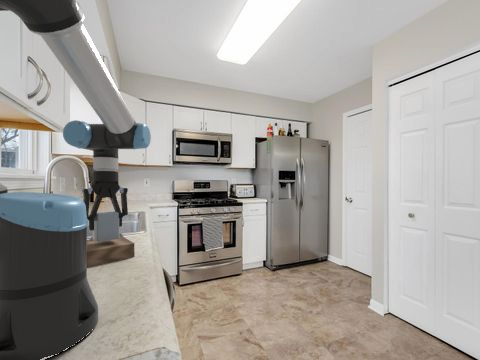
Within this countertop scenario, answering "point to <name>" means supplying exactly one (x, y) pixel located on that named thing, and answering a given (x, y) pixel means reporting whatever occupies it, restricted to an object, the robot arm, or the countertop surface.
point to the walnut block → (109, 251)
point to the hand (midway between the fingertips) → (106, 237)
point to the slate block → (107, 226)
